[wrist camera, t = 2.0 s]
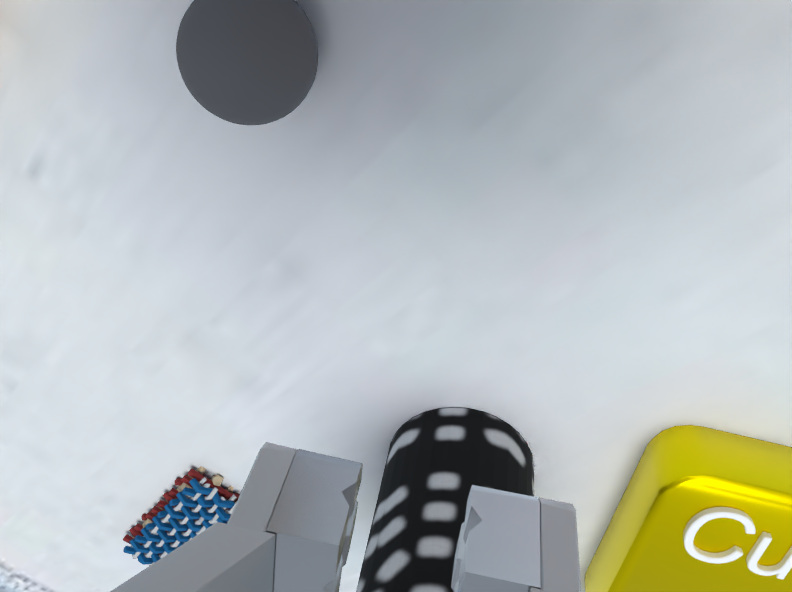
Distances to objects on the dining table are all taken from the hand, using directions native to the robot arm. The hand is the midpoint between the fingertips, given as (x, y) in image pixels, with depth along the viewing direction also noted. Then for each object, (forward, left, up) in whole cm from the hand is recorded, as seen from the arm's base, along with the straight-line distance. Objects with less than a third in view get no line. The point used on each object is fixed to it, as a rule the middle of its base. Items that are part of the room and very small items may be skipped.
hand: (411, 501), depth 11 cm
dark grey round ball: (0, -10, -21) cm, 23 cm away
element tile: (+24, +19, -25) cm, 39 cm away
